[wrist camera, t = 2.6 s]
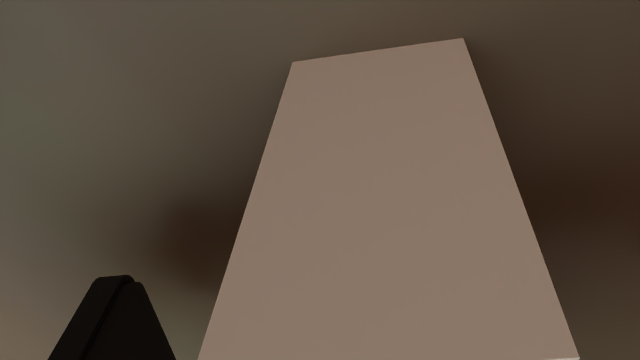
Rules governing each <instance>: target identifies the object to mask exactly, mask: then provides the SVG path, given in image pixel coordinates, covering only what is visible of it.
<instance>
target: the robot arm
mask: <svg viewBox="0 0 640 360" xmlns="http://www.w3.org/2000/svg"><path fill="white" fill-rule="evenodd" d="M48 360H176V358H175V356H174V354H173V352H172V349H171V347H170V345H169V343H168V340H167V338H166V336H165V334H164V331H163V329H162V327H161V324H160V322H159V320H158V318H157V315H156V313H155V311H154V309H153V306H152V304H151V302H150V300H149V297H148V295H147V293H146V291H145V288H144V286H143V285H142V284H141V283H140V282H135V281H134V279H133V278H132V277H131V276H130V275H121V276H109V277H99V278H97V279H96V280H95V281H94V282H93V283H92V285H91V287H90V288H89V290H88V292H87V293H86V295H85V297H84V299H83V300H82V302H81V304H80V305H79V307H78V309H77V311H76V312H75V314H74V316H73V317H72V319H71V321H70V322H69V324H68V326H67V328H66V329H65V331H64V333H63V334H62V336H61V338H60V340H59V341H58V343H57V345H56V346H55V348H54V350H53V351H52V353H51V355H50V357H49V358H48Z"/></svg>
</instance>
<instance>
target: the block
mask: <svg viewBox="0 0 640 360" xmlns="http://www.w3.org/2000/svg"><path fill="white" fill-rule="evenodd" d="M197 360H579V355H578V352H577V349H576V347H575V344H574V341H573V338H572V336H571V333H570V330H569V327H568V325H567V322H566V319H565V316H564V314H563V311H562V308H561V305H560V303H559V300H558V297H557V294H556V292H555V289H554V286H553V283H552V281H551V278H550V275H549V272H548V270H547V267H546V264H545V261H544V259H543V256H542V253H541V250H540V248H539V245H538V242H537V239H536V237H535V234H534V231H533V228H532V226H531V223H530V220H529V217H528V215H527V212H526V209H525V206H524V204H523V201H522V198H521V195H520V193H519V190H518V187H517V184H516V182H515V179H514V176H513V173H512V171H511V168H510V165H509V162H508V160H507V157H506V154H505V151H504V149H503V146H502V143H501V141H500V138H499V135H498V132H497V130H496V127H495V124H494V121H493V119H492V116H491V113H490V110H489V108H488V105H487V102H486V99H485V97H484V94H483V91H482V88H481V86H480V83H479V80H478V77H477V75H476V72H475V69H474V66H473V64H472V61H471V58H470V55H469V53H468V50H467V47H466V44H465V42H464V39H463V38H459V39H452V40H445V41H437V42H430V43H423V44H416V45H409V46H402V47H395V48H388V49H381V50H373V51H366V52H359V53H352V54H345V55H338V56H331V57H324V58H317V59H309V60H302V61H295V62H292V65H291V68H290V72H289V75H288V78H287V81H286V84H285V87H284V90H283V93H282V97H281V100H280V103H279V106H278V109H277V112H276V115H275V118H274V122H273V125H272V128H271V131H270V134H269V137H268V140H267V144H266V147H265V150H264V153H263V156H262V159H261V162H260V165H259V169H258V172H257V175H256V178H255V181H254V184H253V187H252V190H251V194H250V197H249V200H248V203H247V206H246V209H245V212H244V215H243V219H242V222H241V225H240V228H239V231H238V234H237V237H236V240H235V244H234V247H233V250H232V253H231V256H230V259H229V262H228V265H227V269H226V272H225V275H224V278H223V281H222V284H221V287H220V290H219V294H218V297H217V300H216V303H215V306H214V309H213V312H212V316H211V319H210V322H209V325H208V328H207V331H206V334H205V337H204V341H203V344H202V347H201V350H200V353H199V356H198V359H197Z"/></svg>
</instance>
